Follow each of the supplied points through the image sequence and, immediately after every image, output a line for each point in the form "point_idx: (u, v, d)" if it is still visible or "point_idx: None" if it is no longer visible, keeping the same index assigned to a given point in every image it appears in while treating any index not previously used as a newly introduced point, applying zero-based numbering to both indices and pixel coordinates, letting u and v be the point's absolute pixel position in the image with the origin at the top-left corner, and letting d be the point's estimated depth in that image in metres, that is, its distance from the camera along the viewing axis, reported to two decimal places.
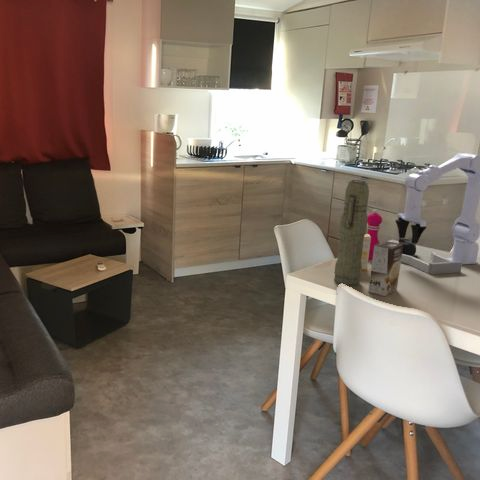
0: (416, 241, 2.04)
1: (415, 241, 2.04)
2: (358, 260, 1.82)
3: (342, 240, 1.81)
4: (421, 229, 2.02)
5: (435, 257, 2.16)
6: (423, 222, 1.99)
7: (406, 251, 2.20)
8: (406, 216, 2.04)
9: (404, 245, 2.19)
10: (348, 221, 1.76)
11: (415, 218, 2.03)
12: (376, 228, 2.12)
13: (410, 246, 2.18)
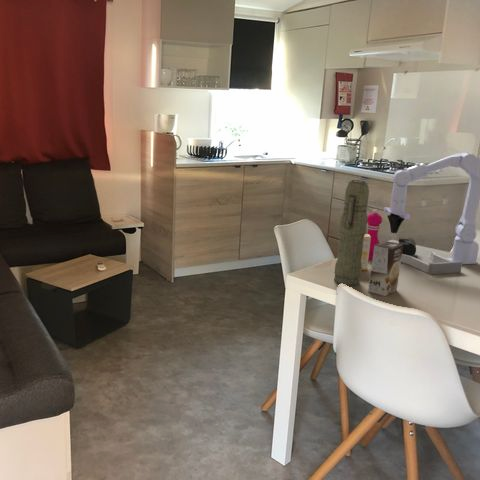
0: (396, 231, 2.21)
1: (395, 231, 2.21)
2: (358, 260, 1.82)
3: (342, 240, 1.81)
4: (400, 220, 2.20)
5: (435, 257, 2.16)
6: (407, 215, 2.13)
7: (406, 251, 2.20)
8: (392, 210, 2.18)
9: (404, 245, 2.19)
10: (348, 221, 1.76)
11: (400, 212, 2.17)
12: (376, 228, 2.12)
13: (410, 246, 2.18)
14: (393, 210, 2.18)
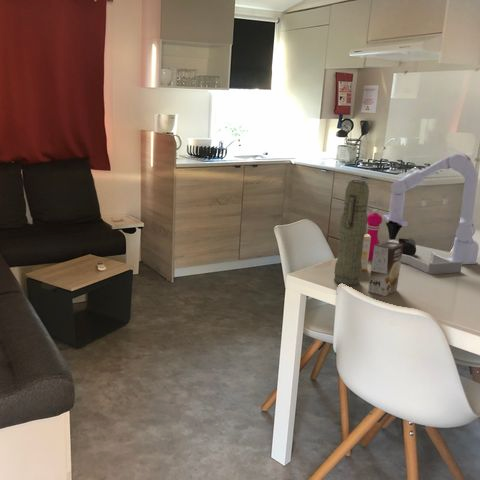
0: (394, 237, 2.32)
1: (393, 237, 2.32)
2: (358, 260, 1.82)
3: (342, 240, 1.81)
4: (398, 227, 2.30)
5: (435, 257, 2.16)
6: (405, 223, 2.24)
7: (406, 251, 2.20)
8: (390, 217, 2.29)
9: (404, 245, 2.19)
10: (348, 221, 1.76)
11: (398, 219, 2.27)
12: (376, 228, 2.12)
13: (410, 246, 2.18)
14: (391, 218, 2.28)
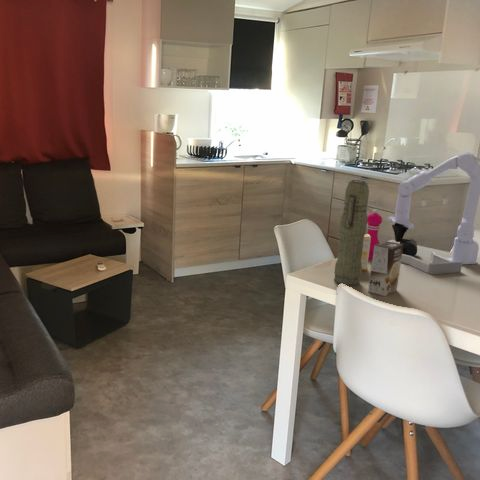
0: None
1: (399, 240, 2.28)
2: (358, 260, 1.82)
3: (342, 240, 1.81)
4: (404, 229, 2.27)
5: (435, 257, 2.16)
6: (411, 225, 2.20)
7: (407, 251, 2.19)
8: (396, 219, 2.25)
9: (405, 245, 2.19)
10: (348, 221, 1.76)
11: (404, 221, 2.24)
12: (376, 228, 2.12)
13: (411, 246, 2.17)
14: (397, 220, 2.24)
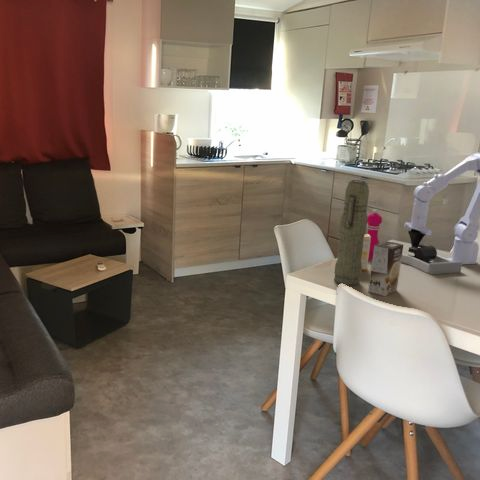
0: (416, 246, 2.19)
1: (415, 246, 2.18)
2: (358, 260, 1.82)
3: (342, 240, 1.81)
4: (421, 235, 2.17)
5: None
6: (429, 231, 2.10)
7: (415, 257, 2.12)
8: (413, 225, 2.15)
9: (413, 250, 2.12)
10: (348, 221, 1.76)
11: (421, 227, 2.14)
12: (376, 228, 2.12)
13: (418, 252, 2.10)
14: (414, 226, 2.15)
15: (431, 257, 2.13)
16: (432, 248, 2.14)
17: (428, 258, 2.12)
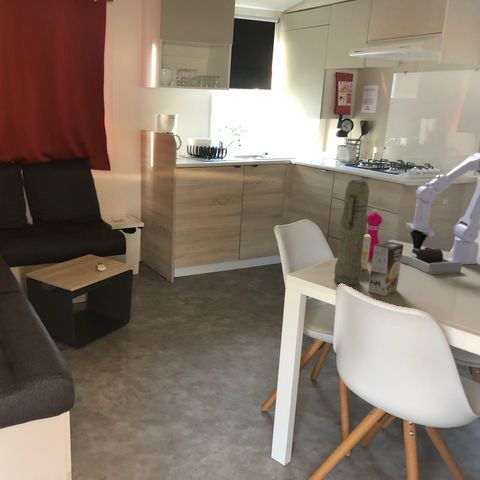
0: None
1: None
2: (358, 260, 1.82)
3: (342, 240, 1.81)
4: (423, 236, 2.16)
5: None
6: (431, 232, 2.09)
7: (417, 258, 2.11)
8: (415, 226, 2.14)
9: (416, 251, 2.11)
10: (348, 221, 1.76)
11: (424, 228, 2.13)
12: (376, 228, 2.12)
13: (419, 253, 2.09)
14: (416, 226, 2.14)
15: (435, 260, 2.10)
16: (437, 251, 2.11)
17: (430, 260, 2.09)
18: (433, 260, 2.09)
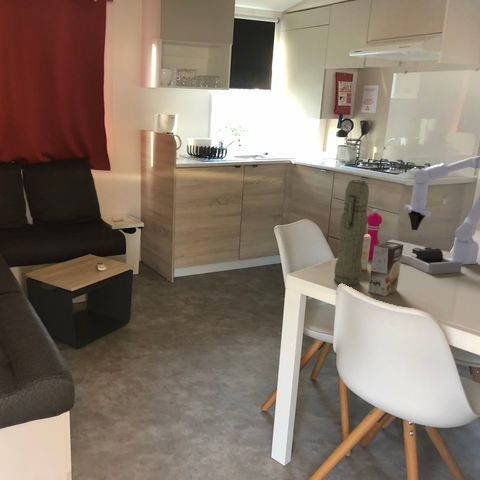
0: (416, 228, 2.27)
1: (415, 228, 2.27)
2: (358, 260, 1.82)
3: (342, 240, 1.81)
4: (421, 217, 2.26)
5: None
6: (428, 212, 2.19)
7: (417, 258, 2.11)
8: (413, 207, 2.24)
9: (416, 251, 2.11)
10: (348, 221, 1.76)
11: (421, 209, 2.23)
12: (376, 228, 2.12)
13: (419, 253, 2.09)
14: (414, 207, 2.23)
15: (435, 260, 2.10)
16: (437, 251, 2.11)
17: (430, 260, 2.09)
18: (433, 260, 2.09)
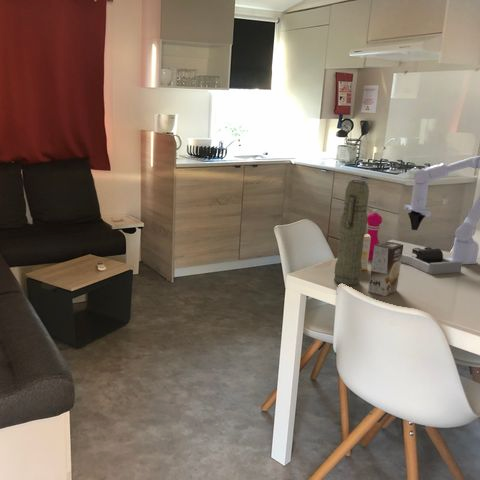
0: (416, 228, 2.27)
1: (415, 228, 2.27)
2: (358, 260, 1.82)
3: (342, 240, 1.81)
4: (421, 217, 2.26)
5: None
6: (428, 212, 2.19)
7: (417, 258, 2.11)
8: (413, 207, 2.24)
9: (416, 251, 2.11)
10: (348, 221, 1.76)
11: (421, 209, 2.23)
12: (376, 228, 2.12)
13: (419, 253, 2.09)
14: (414, 207, 2.23)
15: (435, 260, 2.10)
16: (437, 251, 2.11)
17: (430, 260, 2.09)
18: (433, 260, 2.09)
